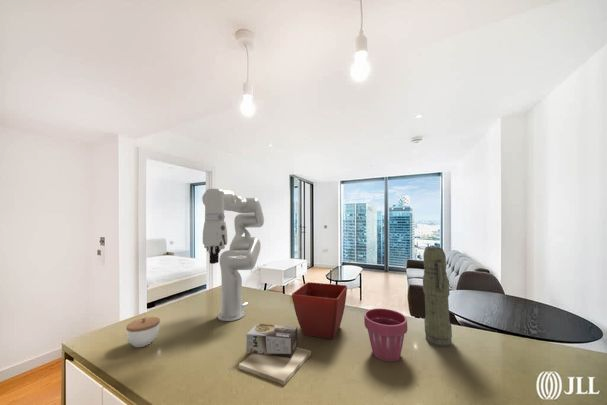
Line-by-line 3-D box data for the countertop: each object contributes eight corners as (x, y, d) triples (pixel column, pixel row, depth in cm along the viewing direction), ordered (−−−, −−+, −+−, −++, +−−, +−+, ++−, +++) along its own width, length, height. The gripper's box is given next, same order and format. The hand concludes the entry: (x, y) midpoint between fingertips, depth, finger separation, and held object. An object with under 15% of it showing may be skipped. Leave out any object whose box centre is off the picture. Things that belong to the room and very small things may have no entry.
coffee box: (245, 353, 81) (291, 359, 78) (246, 333, 82) (291, 338, 78) (257, 340, 90) (298, 345, 86) (257, 322, 91) (298, 326, 87)
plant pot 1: (291, 337, 95) (290, 293, 96) (308, 318, 112) (307, 281, 114) (338, 346, 88) (337, 299, 89) (348, 324, 105) (347, 285, 106)
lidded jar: (165, 338, 95) (166, 314, 95) (139, 353, 85) (140, 325, 85) (146, 334, 98) (146, 311, 99) (118, 348, 88) (119, 321, 89)
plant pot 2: (410, 370, 73) (408, 327, 74) (363, 361, 78) (361, 321, 79) (407, 347, 86) (405, 310, 87) (367, 340, 91) (366, 306, 92)
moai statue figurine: (442, 333, 96) (437, 245, 98) (459, 349, 84) (454, 249, 87) (419, 333, 96) (415, 245, 99) (434, 349, 85) (429, 249, 87)
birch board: (270, 343, 90) (270, 339, 90) (310, 354, 82) (310, 350, 82) (238, 368, 75) (238, 364, 75) (284, 385, 67) (284, 380, 67)
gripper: (234, 218, 99) (234, 262, 98) (209, 218, 106) (208, 260, 105) (220, 218, 93) (220, 266, 91) (194, 218, 100) (194, 263, 98)
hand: (214, 263), depth 98 cm, fingers closed
